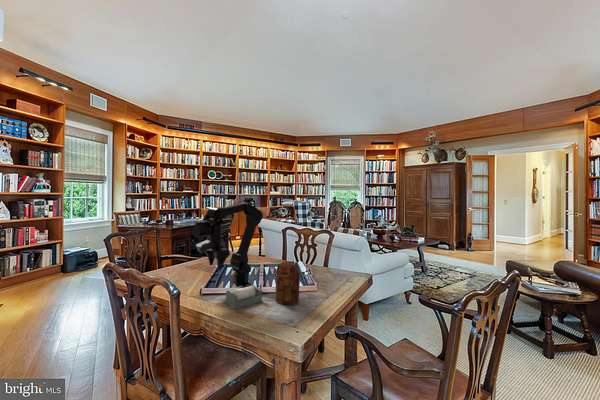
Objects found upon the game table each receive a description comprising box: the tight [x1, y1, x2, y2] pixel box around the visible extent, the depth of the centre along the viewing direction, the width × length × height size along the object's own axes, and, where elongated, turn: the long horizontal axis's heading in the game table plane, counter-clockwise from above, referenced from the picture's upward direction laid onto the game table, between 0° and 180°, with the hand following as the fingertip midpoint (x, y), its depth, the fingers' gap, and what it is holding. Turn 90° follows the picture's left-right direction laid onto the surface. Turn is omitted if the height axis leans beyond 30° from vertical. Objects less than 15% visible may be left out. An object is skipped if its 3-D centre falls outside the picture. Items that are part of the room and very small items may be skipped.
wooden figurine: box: [275, 260, 301, 306], centre depth 126 cm, size 12×6×18 cm, turn 73°
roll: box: [231, 285, 255, 302], centre depth 126 cm, size 9×5×5 cm, turn 130°
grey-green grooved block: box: [225, 284, 263, 310], centre depth 126 cm, size 13×8×5 cm, turn 130°
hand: (215, 267), depth 134 cm, fingers open, 9 cm apart
